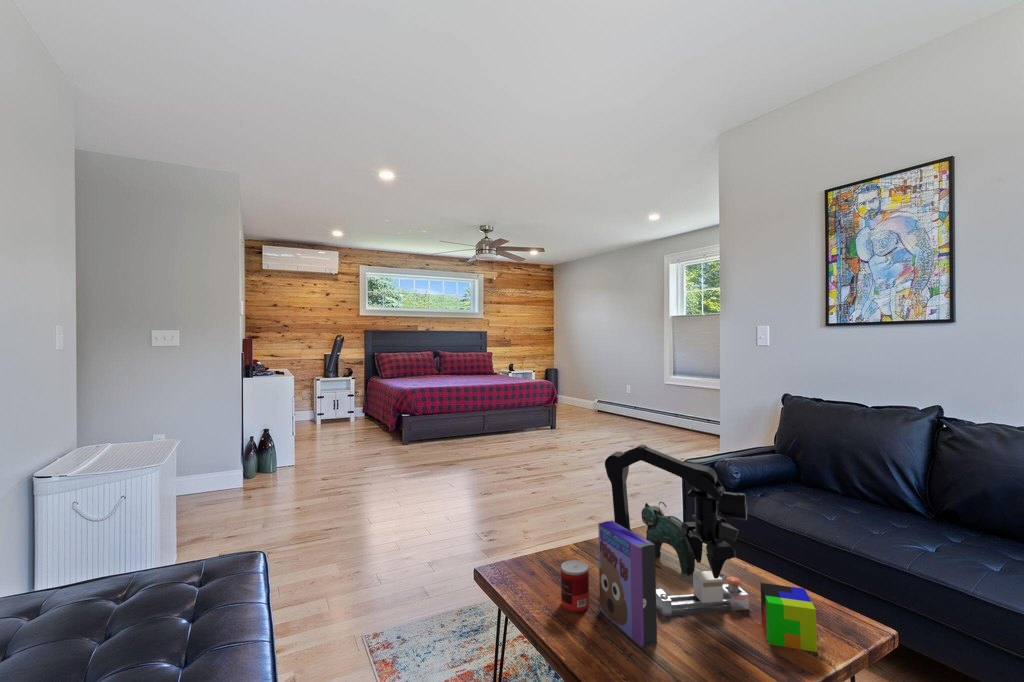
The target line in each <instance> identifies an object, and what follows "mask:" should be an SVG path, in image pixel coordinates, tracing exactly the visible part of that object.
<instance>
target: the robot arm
mask: <svg viewBox="0 0 1024 682" xmlns="http://www.w3.org/2000/svg"><path fill="white" fill-rule="evenodd" d="M640 461H642V462H644V463H647V464H649V465H651V466H654V467H657V468H659V469H661V470H662V471H666V472H668V473H671V474H673V475H675V476H677V477H679V478H681V479H682V480H684V481H685V482H686V483H687V484H688V485H690V486H692V489H690V490H689V491H688V492H687V494H686V496H687V497H690V498H694V514H692V515H691V518H692V520H694V521H687V522H686V521H685V522H683V524H682V525H681V532H682V533H683V534H684V537H685V538H686V540H687V542H688V544H689V546H690V548H691V551H692V553H693V555H694V557H695V562H696V563H697V564H700V563H702V557H703V544H704V543H706V545H705V550H706V554H705V555H706V557H707V558H706V559H707V561H708V565H709V567H710V571H712V574H713V577H714V578H715V579H716V578H719V576H720V575H721V571H722V569H723V567H724V564H725V562H726V561H727V560H731V559H734V558H736V549H735V548H734V547H733V546H732V545H730V544H729V543H728V542H726V541H724V538H725V539H728V540H731V541H732V542H736V541H737V537H738V534H739V531H740V530H739V529H737V528H736V527H734V526H733V525H731V524H729V523H727V520H726V518H727V519H729V518H730V519H736V520H741V521H747V519H748V503H747V497H746V493H744V492H743V493H742V492H731V491H726V488H725V487H724V486H723V485H722V483H721V481H720V480H719V479H718V474H717V473H716V470H715V469H714V468H712V467H710V466H706V465H703V464H697V463H689V462H685V461H682V460H680V459H678V458H675V457H673V456H670V455H668V454H666V453H663V452H661V451H658V450H656V449H653V448H651V447H649V446H647V445H645V444H640V445H638V446H636V447H633V448H631V449H629V450H626V451H615V452H613V453H612V454H610V455H609V456H607V457H606V458H605V460H604V469H605V471H606V475H607V478H608V480H609V482H610V484H611V491H612V492H611V495H612V507H613V516H614V517H613V519H614V522H616V523H617V524H619V525H621V526H623V527H624V528H626V529H628V530H630V531H632V530H631V523H630V521H631V520H630V513H629V510H630V509H629V499H628V491H627V490H628V487H627V479H628V474H629V471H630V466H631V465H633V464H635V463H638V462H640ZM718 512H719V513H720V515H721V516H722V517H721V516H720V515H718ZM717 540H723V541H717Z"/></svg>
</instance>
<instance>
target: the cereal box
mask: <svg viewBox="0 0 1024 682" xmlns="http://www.w3.org/2000/svg"><path fill="white" fill-rule="evenodd" d="M597 526H598V528H597V529H598V530H597V531H598V572H599V573H598V574H599V575H598V576H599V577H598V578H599V579H598V581H599V582H598V583H599V586H598V587H599V611H600V612H601V614H603V615H604V616H605V617H606V618H607V619H608V620H609V621H611V622H612V623H613V624H614V625H615V626H616V627H617V628H618V629H620V630H621V631H622V632H623V633H624V634H625V635H626V636H627V637H628V638H629V639H631V640H632V641H633V642H634V643H635V644H636V645H637V646H638V647H640V648H646V647H648V646H652V645H654V644H657V643H658V629H657V628H658V624H657V619H658V618H657V607H656V589H657V580H656V579H657V576H656V572H657V571H656V558H655V544H653V543H651V542H649V541H648V540H646V538H645V537H642V536H641V535H639V534H637V533H635V532H633V531H632V530H631V531H630V530H628V529H626V528H624V527H623V526H621V525H619V524H617V523H616V522H615V520H610V521H609V520H607V521H606V520H605V521H603V522H599V523H598V524H597Z"/></svg>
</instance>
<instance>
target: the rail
mask: <svg viewBox="0 0 1024 682" xmlns="http://www.w3.org/2000/svg"><path fill="white" fill-rule="evenodd" d="M749 598H750V597H749V594H748V593H747V592H746V591H745V590H744V589H742V588H741V587H740V586H739V593H730V592H729V591H728V583H725V584H723V601H719V602H706V603H702V602H701V601H700V600H699V599H698V598H697V597H696V596H695V595H694V593H693V594H680V595H679V594H678V595H668V594H667V593H666V592H665V591H664V589H662V588H656V610H658V611H659V613H660V614H661V615H662V616H663V617H666V616H667V617H668V616H680V615H683V616H684V615H692V614H693V615H694V614H695V615H696V614H704V613H705V614H706V613H720V612H721V613H722V612H731V611H732V612H734V611H746V610H750V608H749V607H750V606H749V605H750V602H749V601H750V600H749Z"/></svg>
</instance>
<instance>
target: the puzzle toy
mask: <svg viewBox="0 0 1024 682" xmlns="http://www.w3.org/2000/svg"><path fill="white" fill-rule="evenodd" d="M760 608H761V609H760V610H761V613H760V614H761V616H760V618H761V623H762V626H763V630H764V632H765V637H766V638H767V642H768V645H773V646H776V647H777V646H779V647H784V648H791V649H796V650H801V649H802V650H801V651H809V652H814V653H818V637H817V633H818V632H817V609H816V608H815V605H814V603H813V602H812V599H811V598H810V596H809V595H808V593H807V590H806V589H805V588H804V587H803V588H802V587H794V586H787V585H780V584H774V583H773V584H772V583H766V582H765V583H764V582H760Z"/></svg>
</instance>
